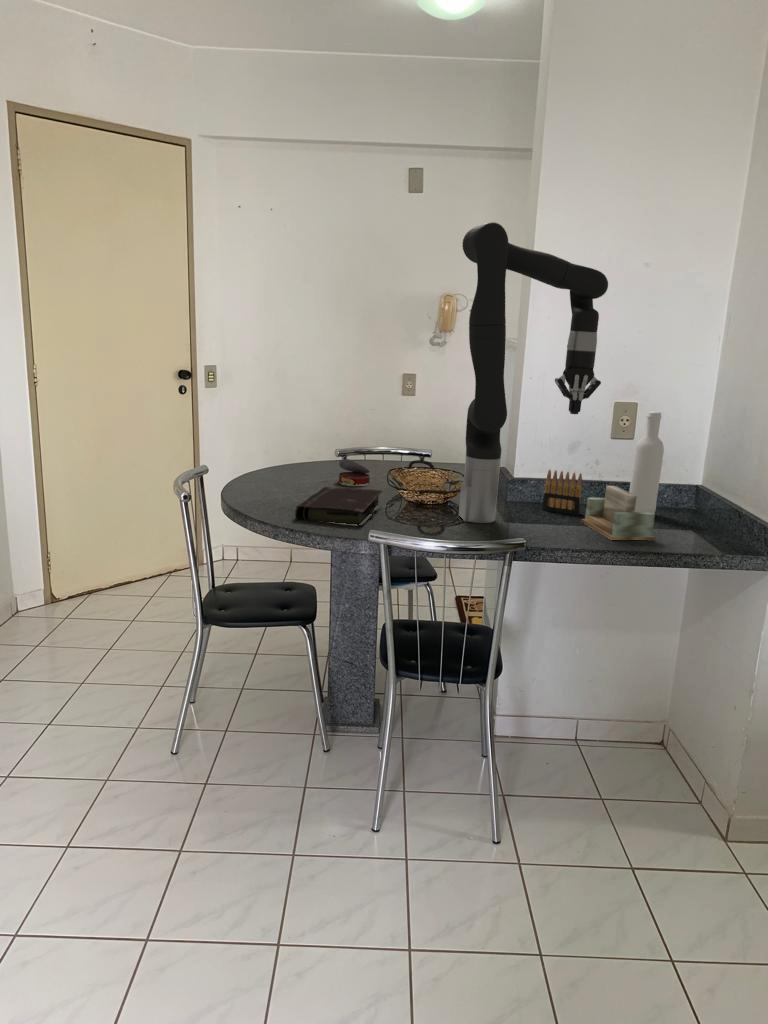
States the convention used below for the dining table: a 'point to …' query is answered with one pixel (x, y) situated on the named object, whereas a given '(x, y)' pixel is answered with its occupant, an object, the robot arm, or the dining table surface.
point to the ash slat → (617, 502)
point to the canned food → (353, 473)
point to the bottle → (647, 466)
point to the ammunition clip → (571, 499)
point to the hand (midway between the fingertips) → (574, 413)
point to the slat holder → (619, 522)
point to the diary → (339, 505)
